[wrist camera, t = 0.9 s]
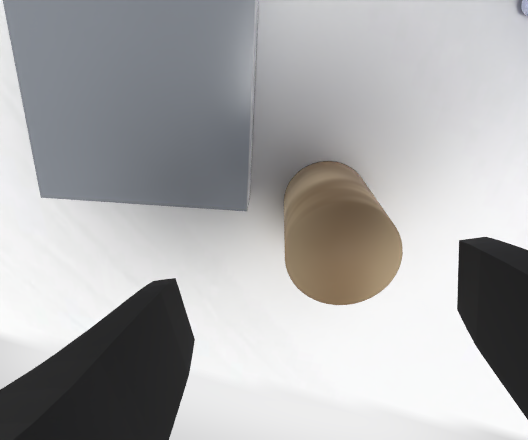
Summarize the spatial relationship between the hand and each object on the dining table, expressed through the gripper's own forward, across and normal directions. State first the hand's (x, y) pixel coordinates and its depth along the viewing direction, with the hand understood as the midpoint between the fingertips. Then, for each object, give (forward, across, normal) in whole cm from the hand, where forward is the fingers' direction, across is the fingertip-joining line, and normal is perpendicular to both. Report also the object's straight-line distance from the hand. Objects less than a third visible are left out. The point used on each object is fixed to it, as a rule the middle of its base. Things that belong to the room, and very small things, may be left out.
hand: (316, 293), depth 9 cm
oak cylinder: (+10, -1, +2) cm, 11 cm away
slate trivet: (+10, +6, -5) cm, 13 cm away
